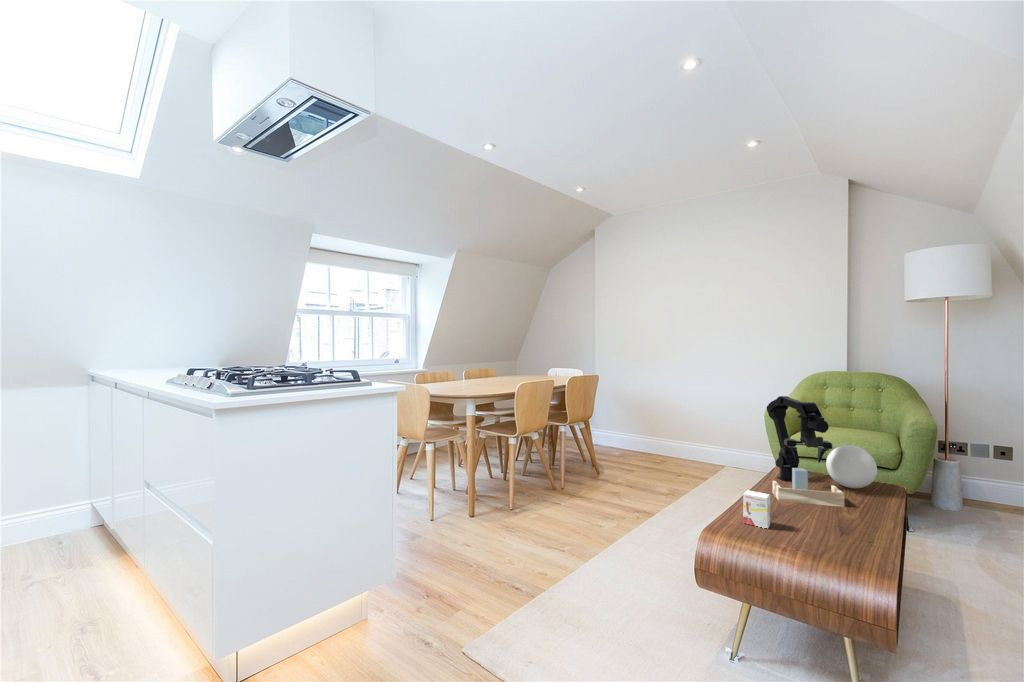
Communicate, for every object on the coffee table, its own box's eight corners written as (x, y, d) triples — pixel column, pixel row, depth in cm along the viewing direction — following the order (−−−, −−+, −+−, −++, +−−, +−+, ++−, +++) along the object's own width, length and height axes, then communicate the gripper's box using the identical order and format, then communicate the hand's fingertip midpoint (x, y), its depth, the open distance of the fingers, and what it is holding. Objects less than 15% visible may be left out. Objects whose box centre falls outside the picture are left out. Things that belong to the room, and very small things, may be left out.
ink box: (742, 523, 177) (742, 492, 177) (745, 520, 181) (745, 489, 181) (767, 529, 172) (767, 497, 172) (770, 525, 176) (770, 494, 176)
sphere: (870, 497, 209) (870, 452, 209) (820, 486, 224) (820, 445, 225) (882, 488, 222) (882, 446, 222) (833, 479, 237) (833, 439, 237)
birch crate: (772, 493, 213) (772, 480, 213) (834, 499, 206) (834, 485, 206) (778, 501, 202) (778, 488, 202) (844, 508, 195) (844, 493, 195)
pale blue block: (792, 491, 217) (792, 467, 217) (804, 492, 216) (804, 468, 216) (795, 494, 212) (795, 470, 212) (807, 495, 211) (807, 471, 211)
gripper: (789, 430, 215) (789, 464, 215) (836, 433, 210) (836, 467, 209) (783, 426, 226) (783, 458, 226) (828, 428, 220) (828, 461, 220)
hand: (807, 461), depth 220 cm, fingers open, 9 cm apart
